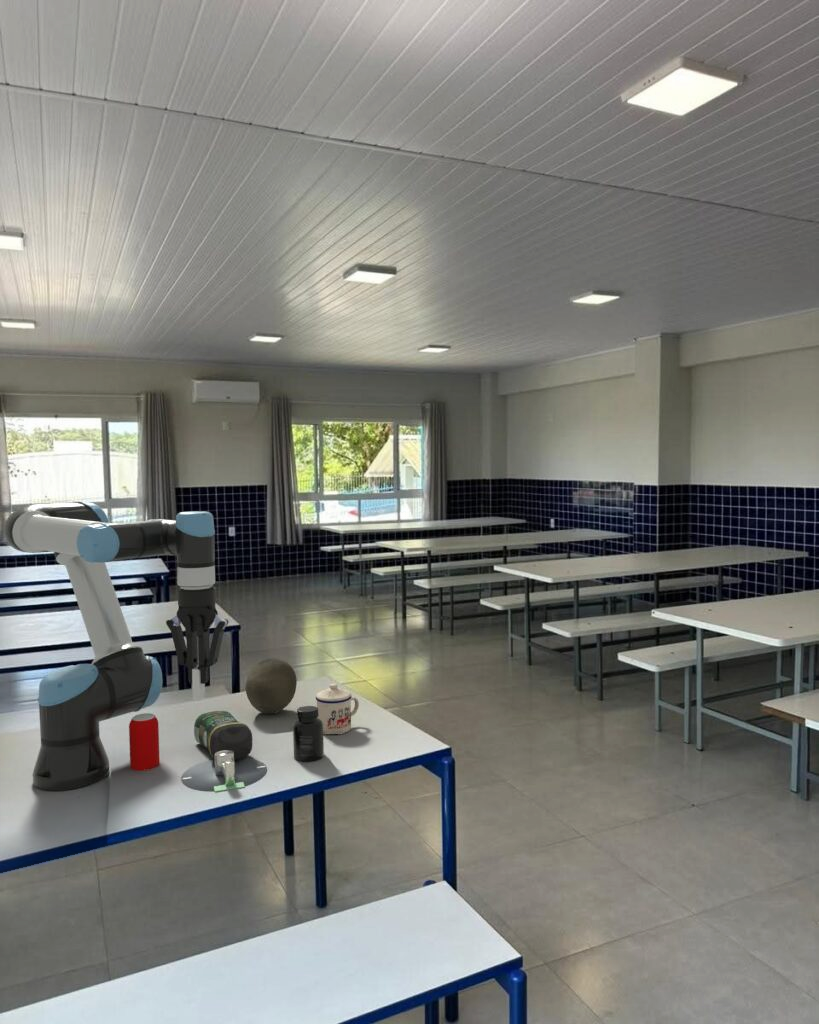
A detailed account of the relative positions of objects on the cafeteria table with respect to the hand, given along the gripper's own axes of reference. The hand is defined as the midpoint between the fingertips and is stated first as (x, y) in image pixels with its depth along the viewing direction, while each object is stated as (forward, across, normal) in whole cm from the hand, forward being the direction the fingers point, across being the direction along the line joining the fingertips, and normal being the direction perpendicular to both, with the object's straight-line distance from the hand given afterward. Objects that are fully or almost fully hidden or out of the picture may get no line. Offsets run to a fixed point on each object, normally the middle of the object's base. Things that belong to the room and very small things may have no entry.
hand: (198, 698), depth 154 cm
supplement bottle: (+19, -19, -16) cm, 31 cm away
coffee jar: (+15, +8, -24) cm, 30 cm away
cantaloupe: (+19, 0, -46) cm, 50 cm away
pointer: (+17, -5, -2) cm, 18 cm away
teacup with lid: (+19, -21, -38) cm, 47 cm away
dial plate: (+19, -3, -4) cm, 20 cm away
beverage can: (+19, +16, -7) cm, 26 cm away
